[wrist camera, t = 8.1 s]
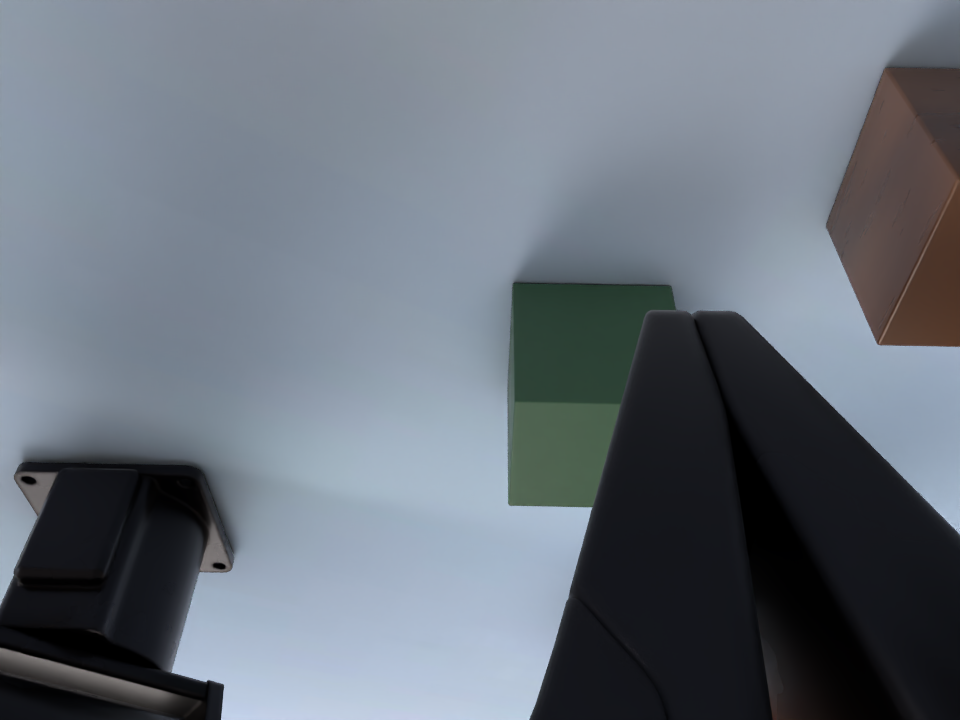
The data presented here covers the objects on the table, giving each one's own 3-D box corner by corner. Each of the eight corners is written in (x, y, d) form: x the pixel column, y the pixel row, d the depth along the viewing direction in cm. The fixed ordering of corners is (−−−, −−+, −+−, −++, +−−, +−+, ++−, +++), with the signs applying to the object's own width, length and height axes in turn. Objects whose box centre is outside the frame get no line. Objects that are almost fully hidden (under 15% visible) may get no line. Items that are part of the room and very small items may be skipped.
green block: (647, 391, 27) (666, 509, 24) (507, 389, 27) (508, 506, 24) (671, 285, 24) (697, 405, 20) (512, 282, 24) (514, 401, 21)
